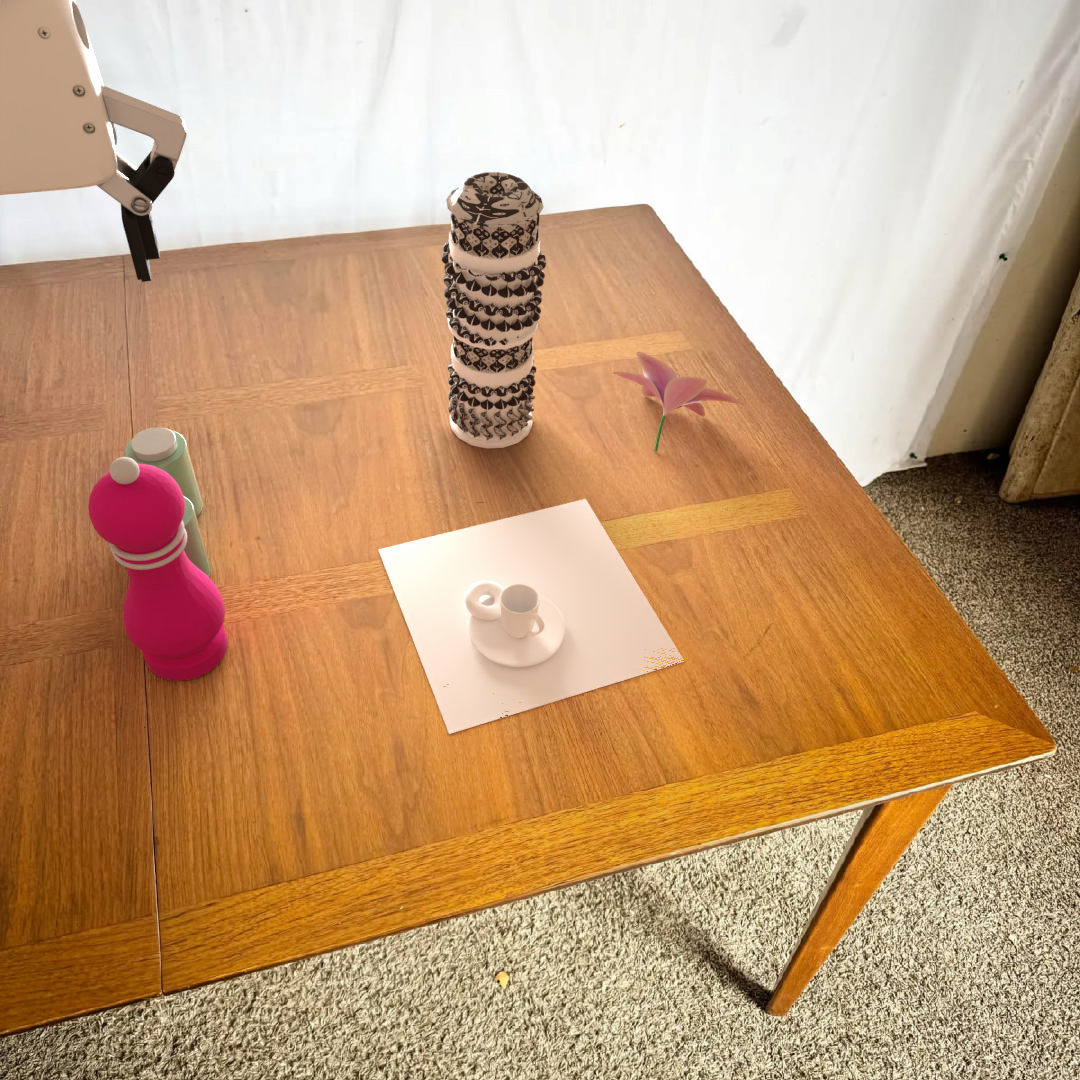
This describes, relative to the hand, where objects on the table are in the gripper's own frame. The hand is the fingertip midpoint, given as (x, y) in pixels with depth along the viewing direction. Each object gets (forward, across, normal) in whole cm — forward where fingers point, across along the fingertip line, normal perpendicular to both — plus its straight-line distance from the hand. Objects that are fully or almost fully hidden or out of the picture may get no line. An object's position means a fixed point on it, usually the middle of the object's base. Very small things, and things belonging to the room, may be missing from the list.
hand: (54, 278), depth 55 cm
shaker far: (+32, -1, -14) cm, 35 cm away
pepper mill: (+32, -1, +3) cm, 32 cm away
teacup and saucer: (+32, -28, +6) cm, 43 cm away
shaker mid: (+32, -1, -5) cm, 32 cm away
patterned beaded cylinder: (+32, -32, -18) cm, 49 cm away
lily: (+31, -49, -13) cm, 60 cm away
